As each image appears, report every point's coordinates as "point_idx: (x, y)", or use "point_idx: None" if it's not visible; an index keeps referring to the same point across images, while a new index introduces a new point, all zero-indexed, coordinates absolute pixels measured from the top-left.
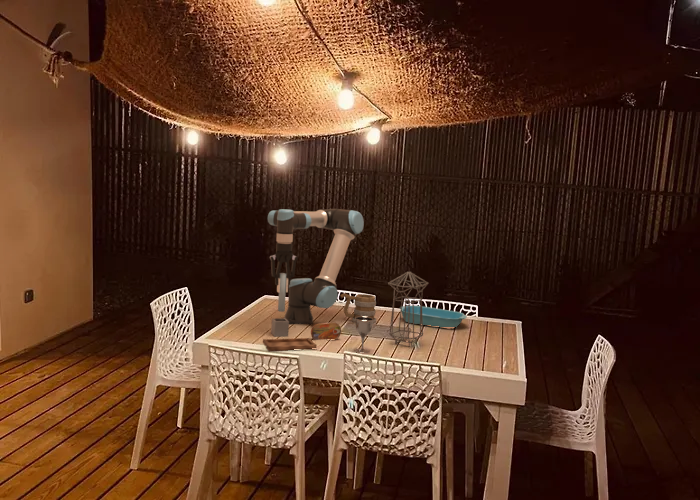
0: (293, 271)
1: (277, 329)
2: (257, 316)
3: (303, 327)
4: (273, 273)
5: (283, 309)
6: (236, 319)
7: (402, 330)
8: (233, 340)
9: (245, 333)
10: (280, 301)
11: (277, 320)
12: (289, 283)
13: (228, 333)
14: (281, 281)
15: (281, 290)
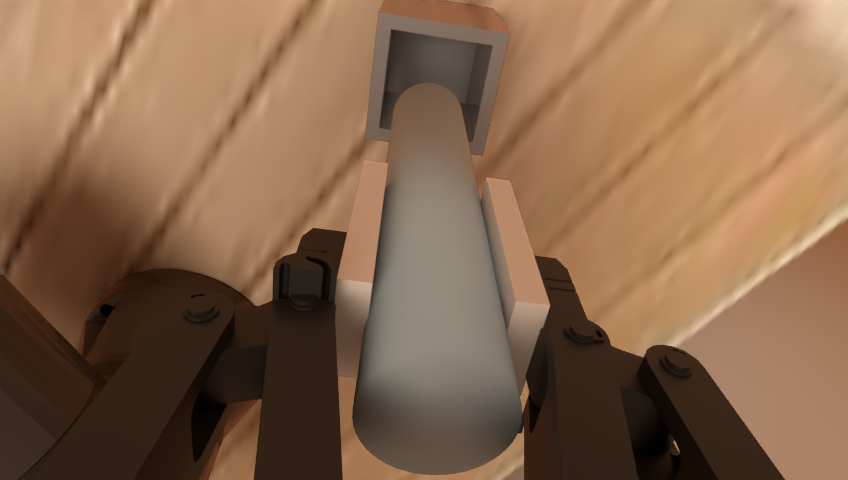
0: (149, 394)
1: (479, 16)
2: (380, 476)
3: (185, 232)
4: (714, 412)
5: (418, 91)
6: (512, 451)
7: None
8: (795, 41)
9: (616, 189)
10: (459, 129)
11: None
12: (311, 241)
13: (715, 215)
14: (481, 267)
15: (463, 185)
